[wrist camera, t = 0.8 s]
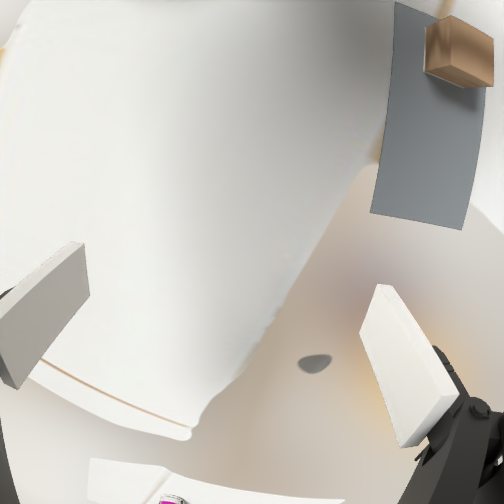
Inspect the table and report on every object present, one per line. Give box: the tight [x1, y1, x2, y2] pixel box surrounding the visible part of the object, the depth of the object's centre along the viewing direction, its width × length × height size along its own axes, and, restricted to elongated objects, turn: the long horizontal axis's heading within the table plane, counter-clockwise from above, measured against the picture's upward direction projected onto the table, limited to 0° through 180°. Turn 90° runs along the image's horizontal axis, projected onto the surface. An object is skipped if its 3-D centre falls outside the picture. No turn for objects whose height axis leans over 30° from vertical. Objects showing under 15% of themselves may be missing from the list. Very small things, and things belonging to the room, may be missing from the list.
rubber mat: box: [370, 2, 486, 230], centre depth 32 cm, size 30×16×1 cm, turn 174°
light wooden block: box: [423, 15, 494, 88], centre depth 26 cm, size 7×7×7 cm
